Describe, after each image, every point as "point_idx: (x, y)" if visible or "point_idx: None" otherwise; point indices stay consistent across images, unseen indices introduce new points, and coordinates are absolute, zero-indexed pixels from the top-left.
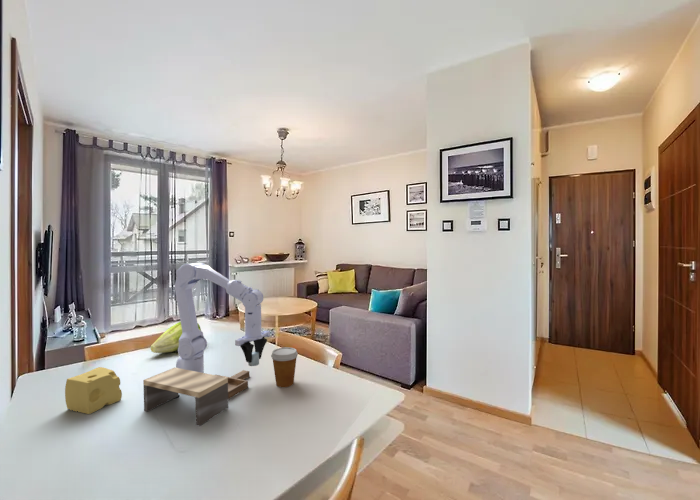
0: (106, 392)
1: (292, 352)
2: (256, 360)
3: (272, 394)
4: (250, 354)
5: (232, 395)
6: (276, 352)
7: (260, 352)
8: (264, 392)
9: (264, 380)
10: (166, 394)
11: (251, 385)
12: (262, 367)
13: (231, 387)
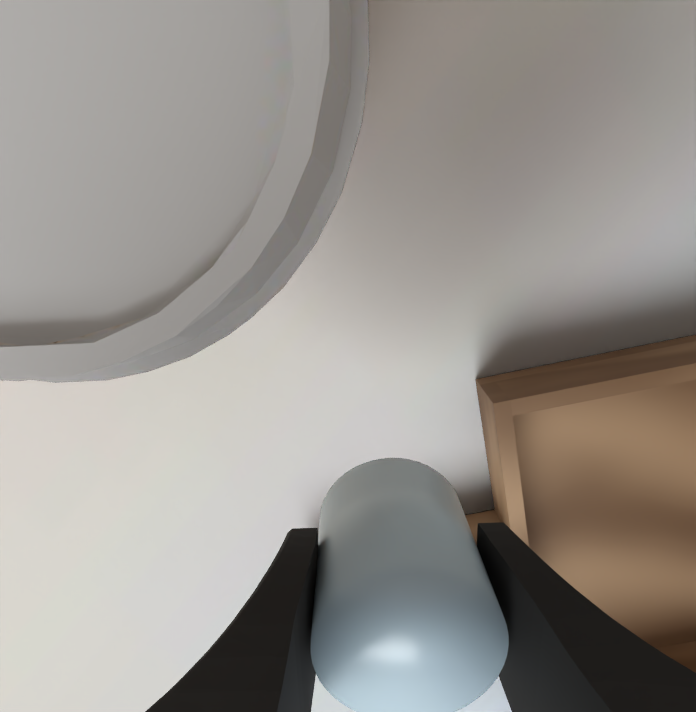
0: None
1: None
2: (414, 499)
3: (465, 44)
4: (579, 606)
5: (687, 341)
6: (151, 212)
7: (301, 594)
8: (473, 160)
9: (285, 376)
10: None
11: (428, 388)
12: (110, 604)
13: (575, 472)
